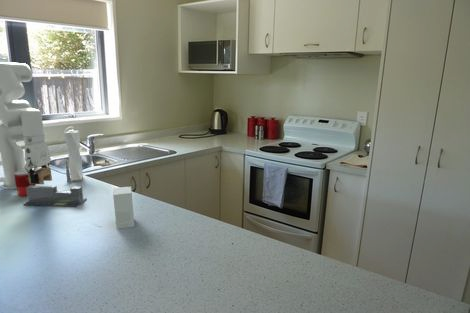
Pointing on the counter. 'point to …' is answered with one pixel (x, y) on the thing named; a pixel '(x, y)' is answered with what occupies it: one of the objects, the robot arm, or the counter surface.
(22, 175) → the canned food
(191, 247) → the counter surface
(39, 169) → the tan slotted wooden block
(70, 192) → the notched rail
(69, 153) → the skyscraper
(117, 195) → the small box
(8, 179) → the robot arm
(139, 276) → the counter surface
